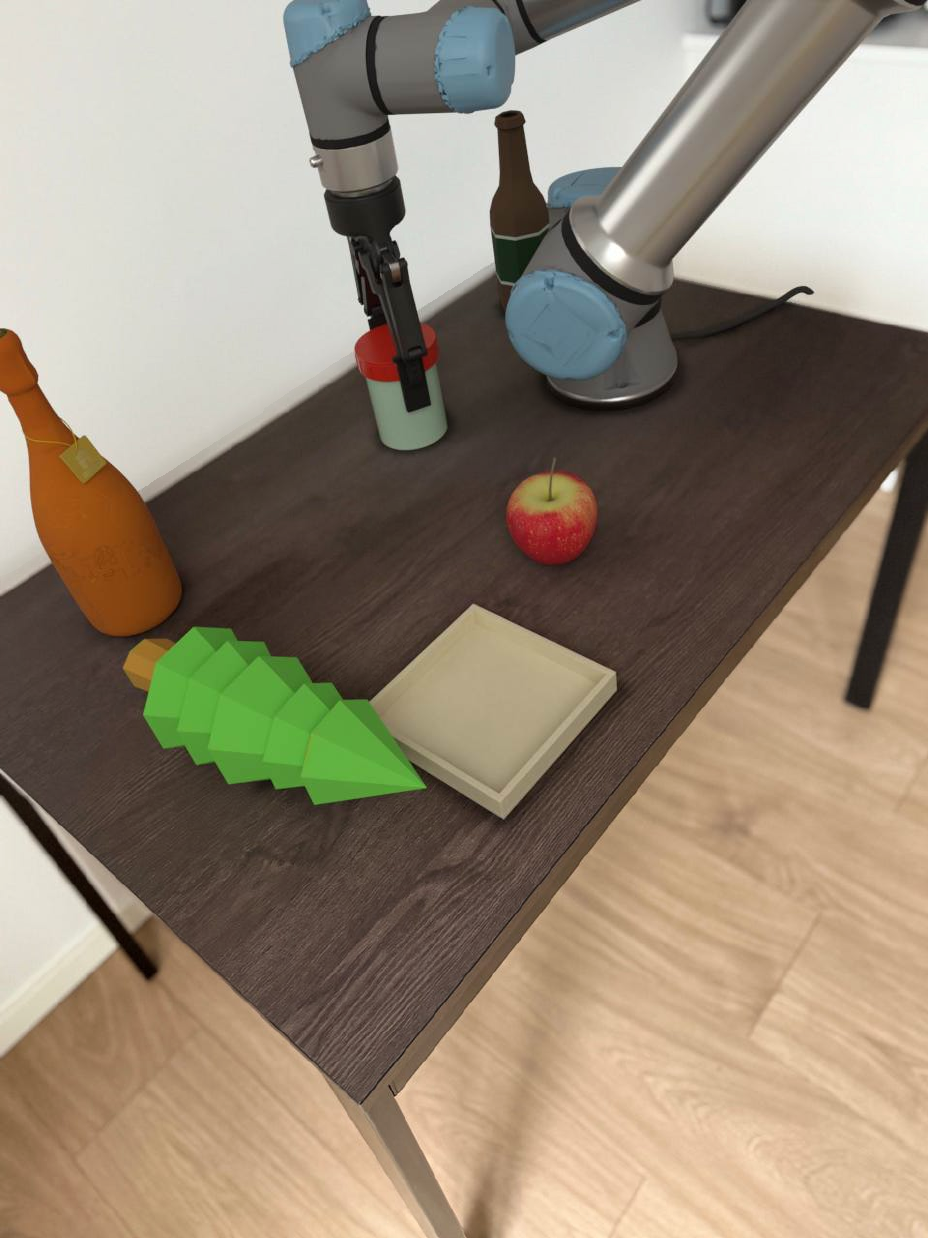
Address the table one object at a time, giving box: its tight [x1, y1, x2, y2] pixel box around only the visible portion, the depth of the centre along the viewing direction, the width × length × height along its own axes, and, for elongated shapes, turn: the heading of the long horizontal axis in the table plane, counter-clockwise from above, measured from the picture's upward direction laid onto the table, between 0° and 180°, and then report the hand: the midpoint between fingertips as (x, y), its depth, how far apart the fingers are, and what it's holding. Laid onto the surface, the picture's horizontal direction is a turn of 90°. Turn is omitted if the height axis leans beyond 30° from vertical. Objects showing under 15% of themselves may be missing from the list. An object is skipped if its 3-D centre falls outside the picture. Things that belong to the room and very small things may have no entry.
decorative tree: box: [122, 626, 428, 806], centre depth 74 cm, size 11×12×30 cm
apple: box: [505, 457, 598, 566], centre depth 88 cm, size 8×8×10 cm
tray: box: [369, 603, 618, 820], centre depth 78 cm, size 15×15×2 cm
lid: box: [353, 322, 440, 382], centre depth 104 cm, size 9×9×2 cm
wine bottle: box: [0, 327, 183, 637], centre depth 85 cm, size 10×10×30 cm
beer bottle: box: [489, 109, 549, 314], centre depth 120 cm, size 8×8×24 cm
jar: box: [364, 362, 448, 451], centre depth 107 cm, size 8×8×11 cm
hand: (404, 387), depth 107 cm, fingers closed on lid, 9 cm apart
